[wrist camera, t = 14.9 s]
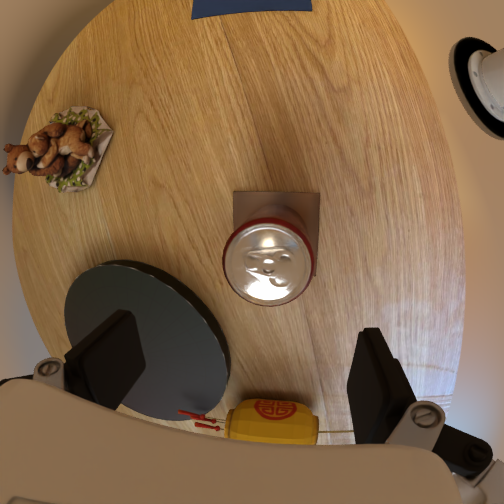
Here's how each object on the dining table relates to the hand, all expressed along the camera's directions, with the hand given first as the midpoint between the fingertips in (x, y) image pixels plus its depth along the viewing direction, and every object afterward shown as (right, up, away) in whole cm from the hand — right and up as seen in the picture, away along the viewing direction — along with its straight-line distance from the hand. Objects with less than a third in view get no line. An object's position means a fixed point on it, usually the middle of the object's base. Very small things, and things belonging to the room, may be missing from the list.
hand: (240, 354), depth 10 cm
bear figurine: (-26, +20, +23) cm, 40 cm away
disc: (-17, -11, +30) cm, 37 cm away
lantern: (+4, -22, +30) cm, 37 cm away
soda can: (+3, +6, +22) cm, 23 cm away
